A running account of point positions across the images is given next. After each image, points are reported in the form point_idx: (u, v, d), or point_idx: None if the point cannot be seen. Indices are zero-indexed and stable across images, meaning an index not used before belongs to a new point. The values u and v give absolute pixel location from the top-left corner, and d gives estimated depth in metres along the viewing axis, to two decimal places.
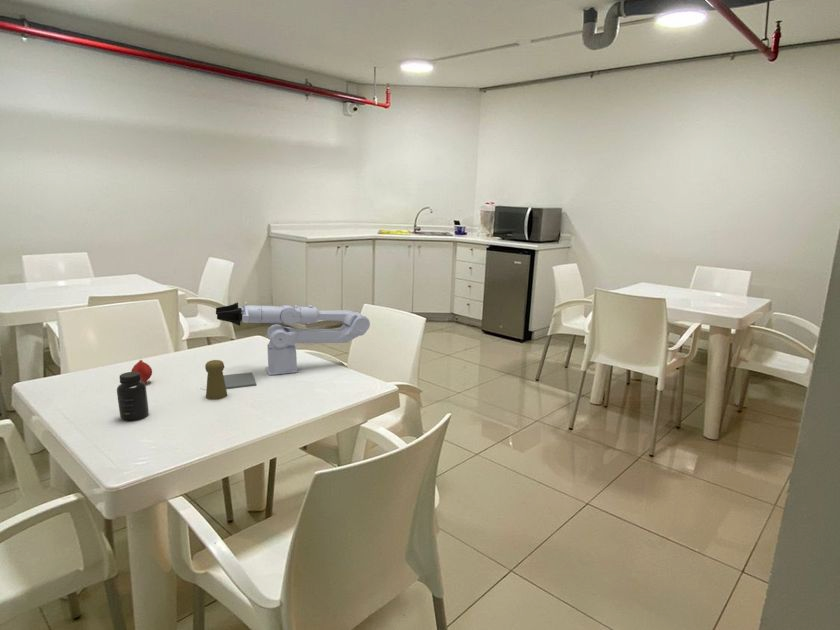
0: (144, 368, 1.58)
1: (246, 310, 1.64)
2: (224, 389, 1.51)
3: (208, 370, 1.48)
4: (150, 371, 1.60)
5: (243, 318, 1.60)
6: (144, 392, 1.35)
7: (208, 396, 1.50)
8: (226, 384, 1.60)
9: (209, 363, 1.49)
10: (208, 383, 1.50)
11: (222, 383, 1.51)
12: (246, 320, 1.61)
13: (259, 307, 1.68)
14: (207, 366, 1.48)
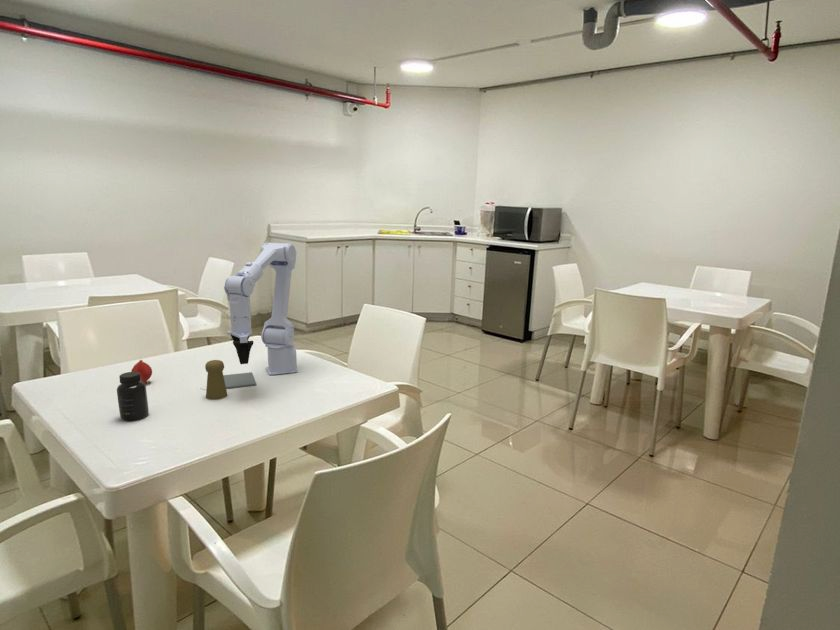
0: (144, 368, 1.58)
1: (235, 335, 1.47)
2: (224, 389, 1.51)
3: (208, 370, 1.48)
4: (150, 371, 1.60)
5: (243, 341, 1.45)
6: (144, 392, 1.35)
7: (208, 396, 1.50)
8: (226, 384, 1.60)
9: (209, 363, 1.49)
10: (208, 383, 1.50)
11: (222, 383, 1.51)
12: (246, 338, 1.45)
13: (231, 319, 1.48)
14: (207, 366, 1.48)
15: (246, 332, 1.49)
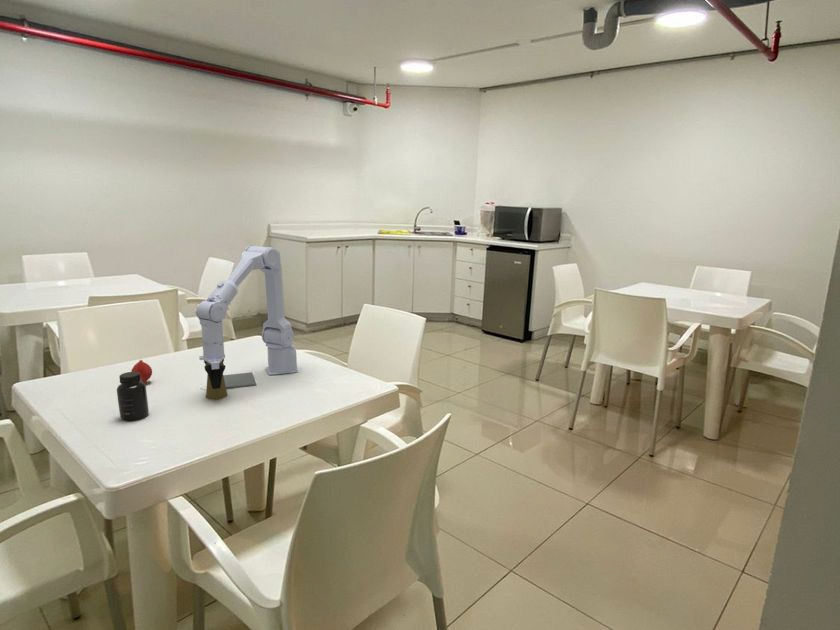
0: (144, 368, 1.58)
1: (207, 361, 1.46)
2: (224, 389, 1.51)
3: None
4: (150, 371, 1.60)
5: (215, 368, 1.44)
6: (144, 392, 1.35)
7: (208, 396, 1.50)
8: (226, 384, 1.60)
9: (209, 363, 1.49)
10: (208, 383, 1.50)
11: (222, 383, 1.51)
12: (217, 364, 1.44)
13: (203, 344, 1.47)
14: None
15: (218, 358, 1.48)
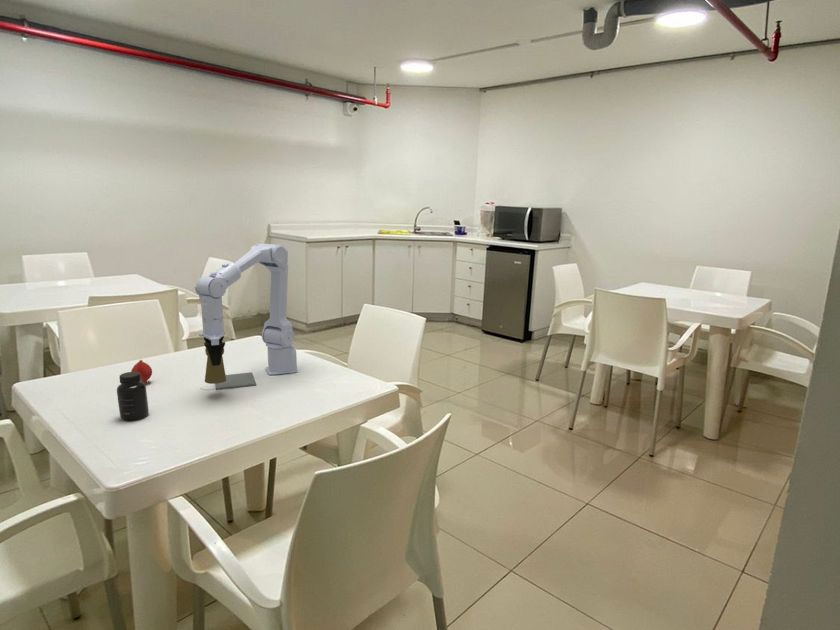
0: (144, 368, 1.58)
1: (207, 337, 1.45)
2: (223, 374, 1.51)
3: (208, 353, 1.48)
4: (150, 371, 1.60)
5: (215, 344, 1.43)
6: (144, 392, 1.35)
7: (207, 380, 1.49)
8: (226, 384, 1.60)
9: None
10: (207, 367, 1.49)
11: (222, 367, 1.50)
12: (217, 340, 1.43)
13: (203, 321, 1.46)
14: None
15: (218, 334, 1.47)
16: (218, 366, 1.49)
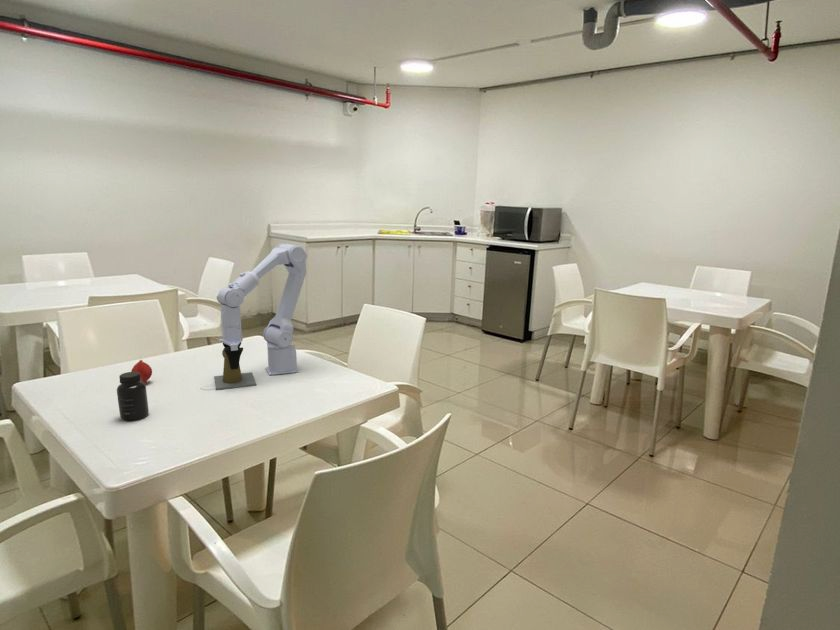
0: (144, 368, 1.58)
1: (226, 343, 1.58)
2: (239, 374, 1.63)
3: (225, 356, 1.60)
4: (150, 371, 1.60)
5: (234, 349, 1.55)
6: (144, 392, 1.35)
7: (225, 380, 1.61)
8: (226, 384, 1.60)
9: None
10: (225, 368, 1.61)
11: (238, 368, 1.62)
12: (236, 346, 1.55)
13: (223, 328, 1.59)
14: (224, 352, 1.60)
15: (237, 340, 1.60)
16: None
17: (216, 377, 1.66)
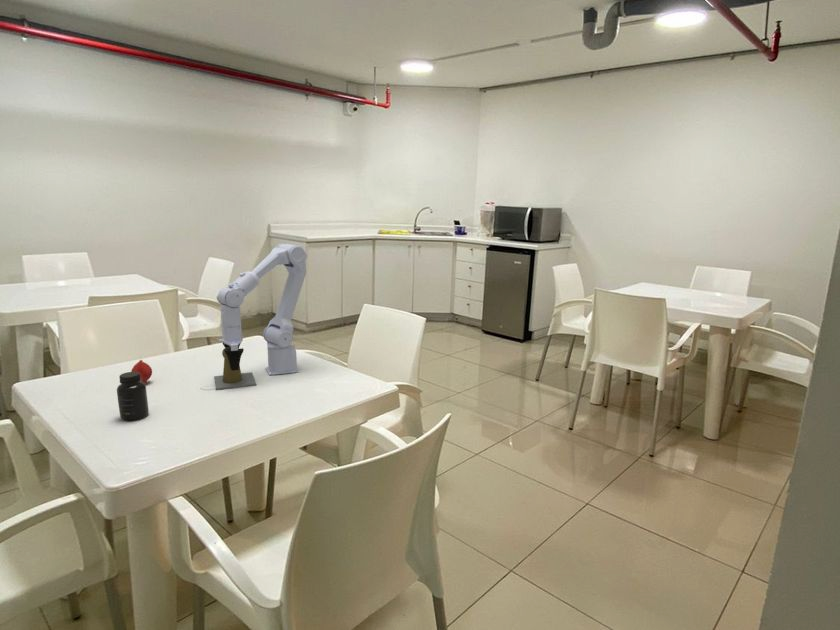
0: (144, 368, 1.58)
1: (226, 343, 1.58)
2: (239, 374, 1.63)
3: (225, 356, 1.60)
4: (150, 371, 1.60)
5: (234, 349, 1.55)
6: (144, 392, 1.35)
7: (225, 380, 1.61)
8: (226, 384, 1.60)
9: None
10: (225, 368, 1.61)
11: None
12: (236, 346, 1.55)
13: (223, 328, 1.59)
14: (224, 352, 1.60)
15: (237, 340, 1.60)
16: None
17: (216, 377, 1.66)
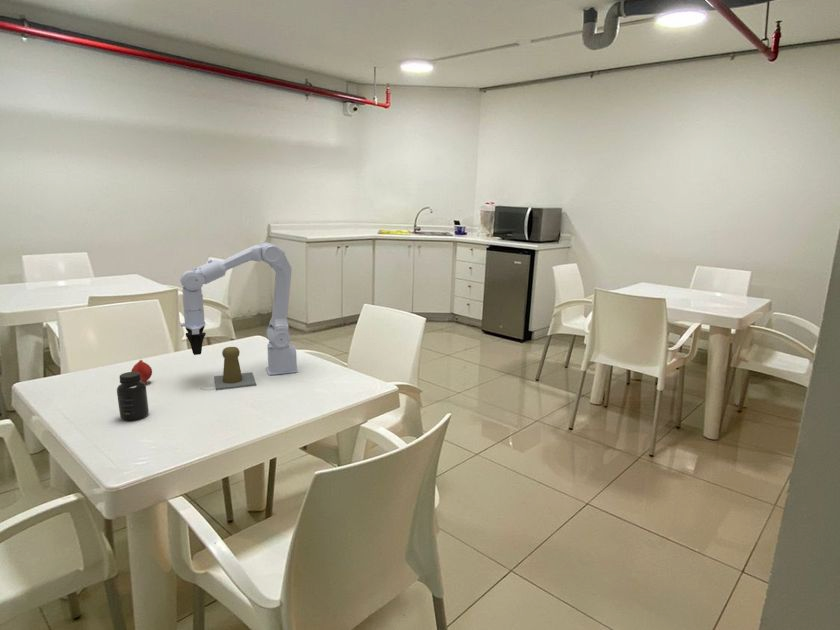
0: (144, 368, 1.58)
1: (188, 327, 1.56)
2: (239, 374, 1.63)
3: (225, 356, 1.60)
4: (150, 371, 1.60)
5: (195, 333, 1.53)
6: (144, 392, 1.35)
7: (225, 380, 1.61)
8: (226, 384, 1.60)
9: (226, 349, 1.60)
10: (225, 368, 1.61)
11: (238, 368, 1.62)
12: (197, 330, 1.53)
13: (185, 312, 1.57)
14: (224, 352, 1.60)
15: (199, 324, 1.58)
16: (235, 367, 1.61)
17: (216, 377, 1.66)
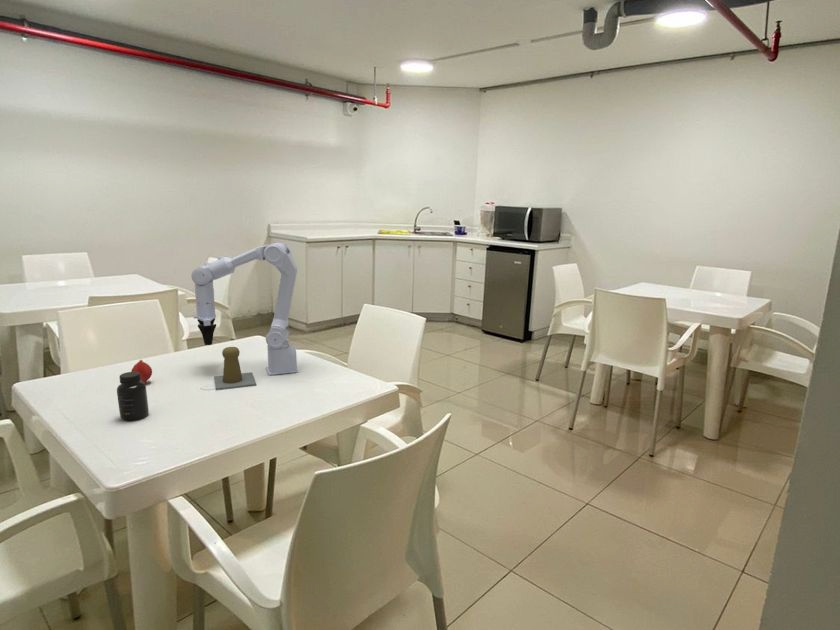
0: (144, 368, 1.58)
1: (200, 319, 1.66)
2: (239, 374, 1.63)
3: (225, 356, 1.60)
4: (150, 371, 1.60)
5: (207, 324, 1.64)
6: (144, 392, 1.35)
7: (225, 380, 1.61)
8: (226, 384, 1.60)
9: (226, 349, 1.60)
10: (225, 368, 1.61)
11: (238, 368, 1.62)
12: (209, 321, 1.64)
13: (197, 305, 1.67)
14: (224, 352, 1.60)
15: (210, 316, 1.68)
16: (235, 367, 1.61)
17: (216, 377, 1.66)
